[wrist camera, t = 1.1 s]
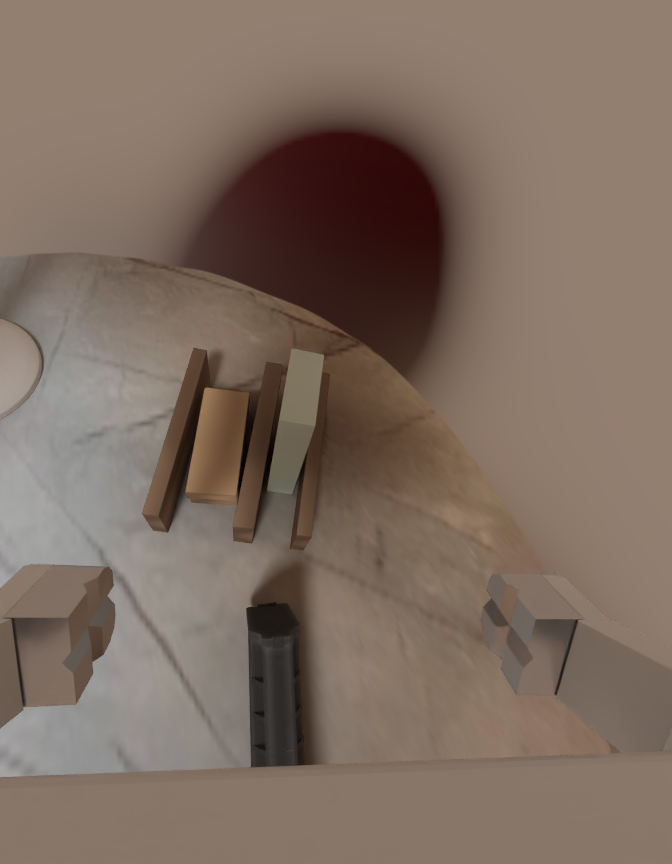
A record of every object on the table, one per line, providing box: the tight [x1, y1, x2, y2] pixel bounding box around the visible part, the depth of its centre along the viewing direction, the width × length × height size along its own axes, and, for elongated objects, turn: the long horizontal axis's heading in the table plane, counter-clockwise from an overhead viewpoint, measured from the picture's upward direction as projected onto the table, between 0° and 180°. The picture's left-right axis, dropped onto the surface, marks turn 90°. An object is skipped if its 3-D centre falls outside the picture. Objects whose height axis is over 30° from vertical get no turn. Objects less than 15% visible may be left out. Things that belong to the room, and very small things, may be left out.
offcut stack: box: [186, 387, 250, 506], centre depth 39 cm, size 4×11×4 cm, turn 179°
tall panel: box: [267, 348, 324, 495], centre depth 36 cm, size 2×6×14 cm, turn 175°
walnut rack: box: [142, 348, 330, 550], centre depth 39 cm, size 13×16×5 cm
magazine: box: [246, 603, 305, 767], centre depth 25 cm, size 17×3×30 cm
